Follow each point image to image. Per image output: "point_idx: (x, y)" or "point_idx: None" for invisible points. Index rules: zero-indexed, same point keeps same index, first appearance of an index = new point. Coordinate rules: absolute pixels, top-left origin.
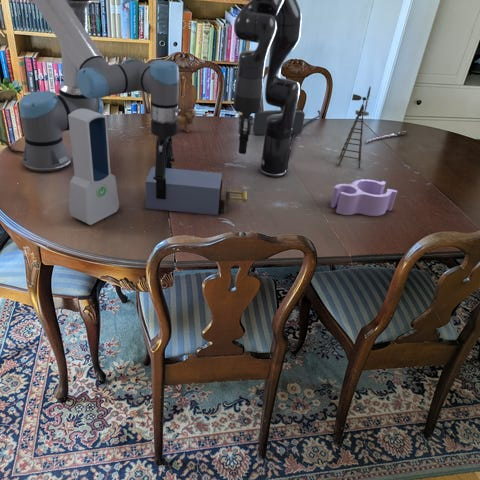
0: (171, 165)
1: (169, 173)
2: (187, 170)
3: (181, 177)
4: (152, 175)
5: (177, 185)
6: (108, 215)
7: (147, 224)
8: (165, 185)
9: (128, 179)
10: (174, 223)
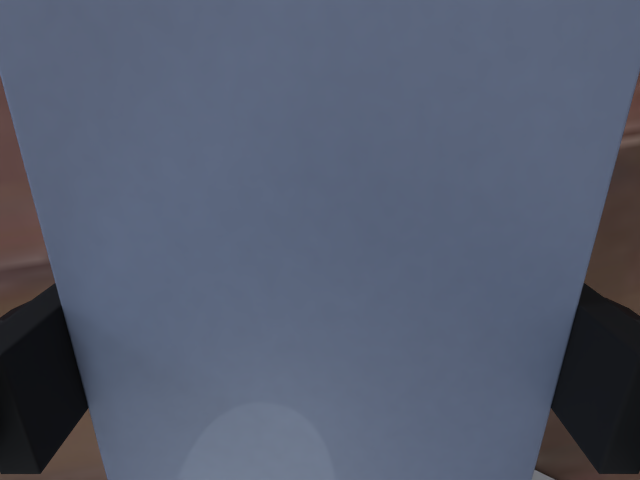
0: (23, 332)
1: (241, 306)
2: (12, 29)
3: (343, 106)
4: (357, 473)
5: (612, 135)
6: (535, 471)
7: (631, 277)
8: (604, 299)
9: (86, 463)
10: (636, 104)
